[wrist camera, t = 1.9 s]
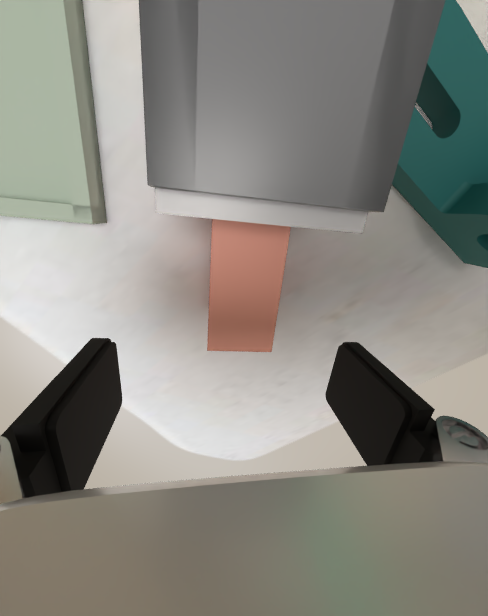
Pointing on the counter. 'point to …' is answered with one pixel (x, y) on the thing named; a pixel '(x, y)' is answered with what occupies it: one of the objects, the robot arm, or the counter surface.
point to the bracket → (451, 140)
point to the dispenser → (280, 105)
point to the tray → (47, 114)
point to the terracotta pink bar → (245, 284)
